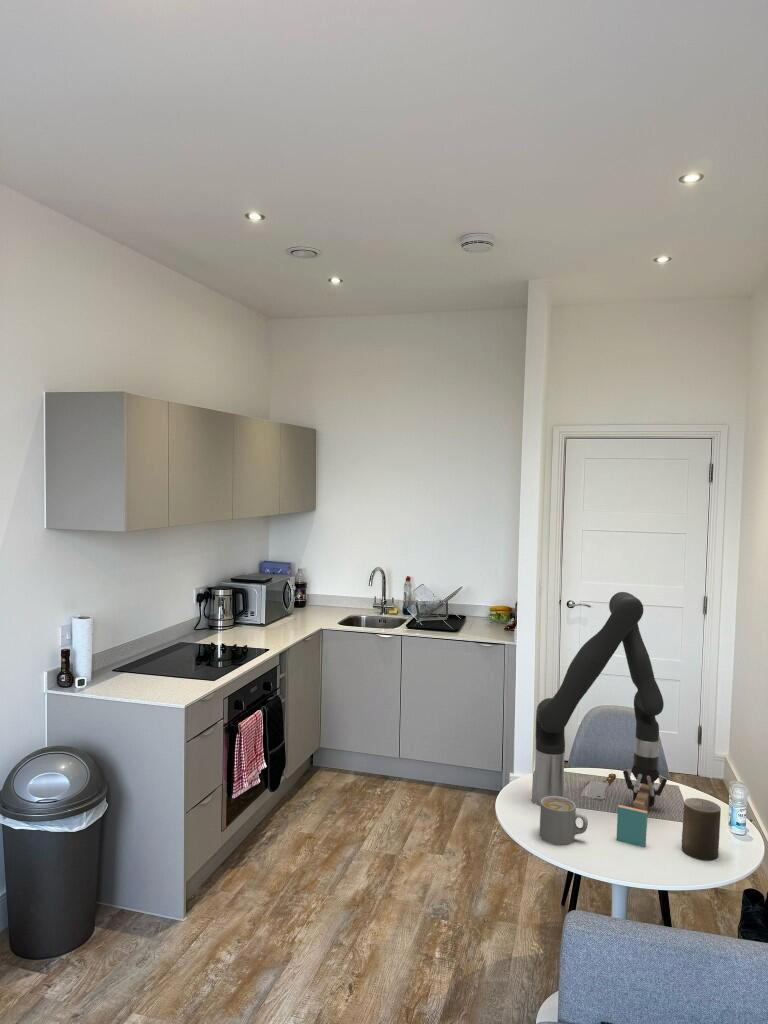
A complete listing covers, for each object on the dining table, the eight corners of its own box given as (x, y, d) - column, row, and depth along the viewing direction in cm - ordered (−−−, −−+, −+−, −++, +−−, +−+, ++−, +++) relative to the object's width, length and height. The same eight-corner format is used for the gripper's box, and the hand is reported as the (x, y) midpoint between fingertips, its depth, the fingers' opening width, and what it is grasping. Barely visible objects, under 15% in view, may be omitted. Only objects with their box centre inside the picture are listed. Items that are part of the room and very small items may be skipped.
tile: (616, 840, 209) (617, 806, 209) (617, 838, 211) (618, 804, 210) (645, 847, 206) (646, 813, 205) (645, 845, 207) (647, 811, 207)
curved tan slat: (642, 823, 221) (643, 804, 221) (632, 821, 222) (633, 802, 222) (653, 797, 240) (654, 779, 240) (643, 795, 242) (644, 777, 241)
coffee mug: (534, 838, 209) (536, 805, 208) (545, 825, 217) (547, 793, 217) (580, 852, 202) (582, 817, 201) (590, 838, 210) (591, 804, 210)
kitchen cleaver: (594, 769, 261) (622, 775, 255) (594, 772, 261) (622, 778, 255) (573, 793, 240) (603, 800, 235) (573, 796, 240) (603, 803, 235)
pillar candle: (711, 864, 198) (714, 811, 197) (675, 851, 204) (678, 799, 204) (723, 852, 205) (726, 800, 204) (688, 840, 211) (691, 789, 211)
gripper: (621, 751, 231) (618, 803, 231) (668, 760, 224) (665, 814, 225) (625, 744, 237) (622, 795, 238) (671, 752, 231) (668, 805, 231)
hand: (643, 804), depth 231 cm, fingers open, 3 cm apart
